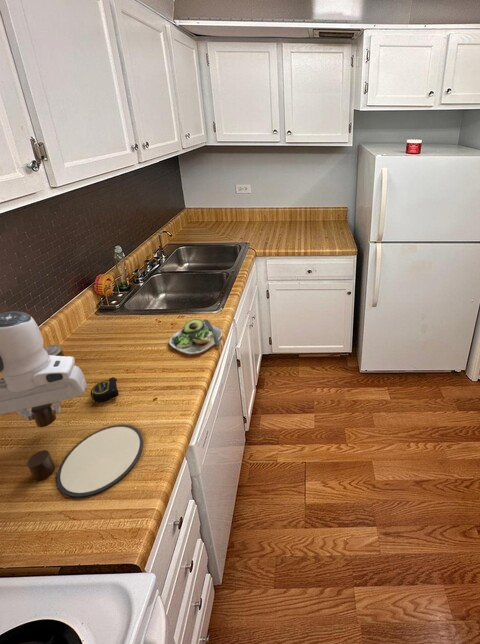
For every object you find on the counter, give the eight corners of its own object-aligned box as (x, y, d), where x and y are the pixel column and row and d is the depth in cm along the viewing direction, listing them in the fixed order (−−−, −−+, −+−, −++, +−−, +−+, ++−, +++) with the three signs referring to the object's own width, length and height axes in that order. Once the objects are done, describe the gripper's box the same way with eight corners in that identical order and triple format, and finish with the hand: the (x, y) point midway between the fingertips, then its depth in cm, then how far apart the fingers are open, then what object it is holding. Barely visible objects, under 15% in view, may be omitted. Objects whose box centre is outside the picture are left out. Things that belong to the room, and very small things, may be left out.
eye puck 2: (31, 484, 76) (23, 469, 74) (37, 467, 79) (30, 453, 77) (52, 477, 77) (45, 462, 75) (57, 461, 80) (51, 447, 78)
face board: (45, 511, 70) (44, 509, 70) (69, 439, 86) (68, 437, 86) (139, 479, 76) (139, 477, 76) (145, 417, 92) (145, 415, 92)
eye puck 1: (34, 429, 83) (28, 414, 82) (39, 416, 87) (34, 402, 85) (53, 424, 85) (48, 410, 83) (58, 412, 88) (53, 398, 87)
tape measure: (120, 398, 98) (117, 389, 97) (93, 409, 94) (89, 399, 93) (118, 384, 103) (115, 374, 102) (92, 393, 100) (89, 384, 98)
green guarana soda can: (56, 375, 107) (45, 345, 102) (75, 373, 108) (64, 343, 103) (47, 388, 102) (34, 356, 97) (66, 385, 103) (54, 354, 98)
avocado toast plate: (236, 336, 125) (235, 326, 123) (199, 364, 111) (197, 353, 109) (201, 320, 135) (200, 311, 133) (162, 345, 120) (160, 334, 119)
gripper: (-34, 394, 74) (-13, 438, 79) (74, 371, 81) (87, 413, 86) (-20, 374, 79) (-1, 417, 84) (81, 355, 86) (92, 395, 91)
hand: (44, 415), depth 85 cm, fingers closed on eye puck 1, 4 cm apart
